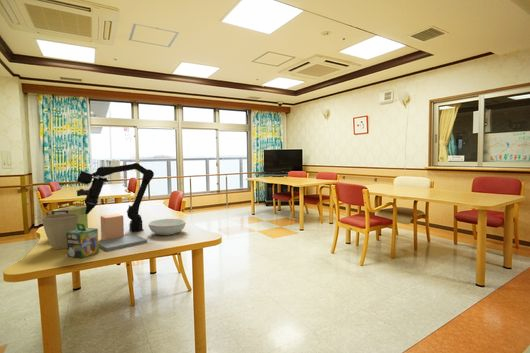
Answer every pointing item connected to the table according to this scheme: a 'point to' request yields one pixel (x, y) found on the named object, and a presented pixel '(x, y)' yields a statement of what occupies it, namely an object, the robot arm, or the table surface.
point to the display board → (121, 242)
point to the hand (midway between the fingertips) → (86, 212)
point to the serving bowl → (166, 226)
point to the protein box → (78, 210)
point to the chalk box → (82, 242)
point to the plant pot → (59, 228)
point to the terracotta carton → (112, 226)
